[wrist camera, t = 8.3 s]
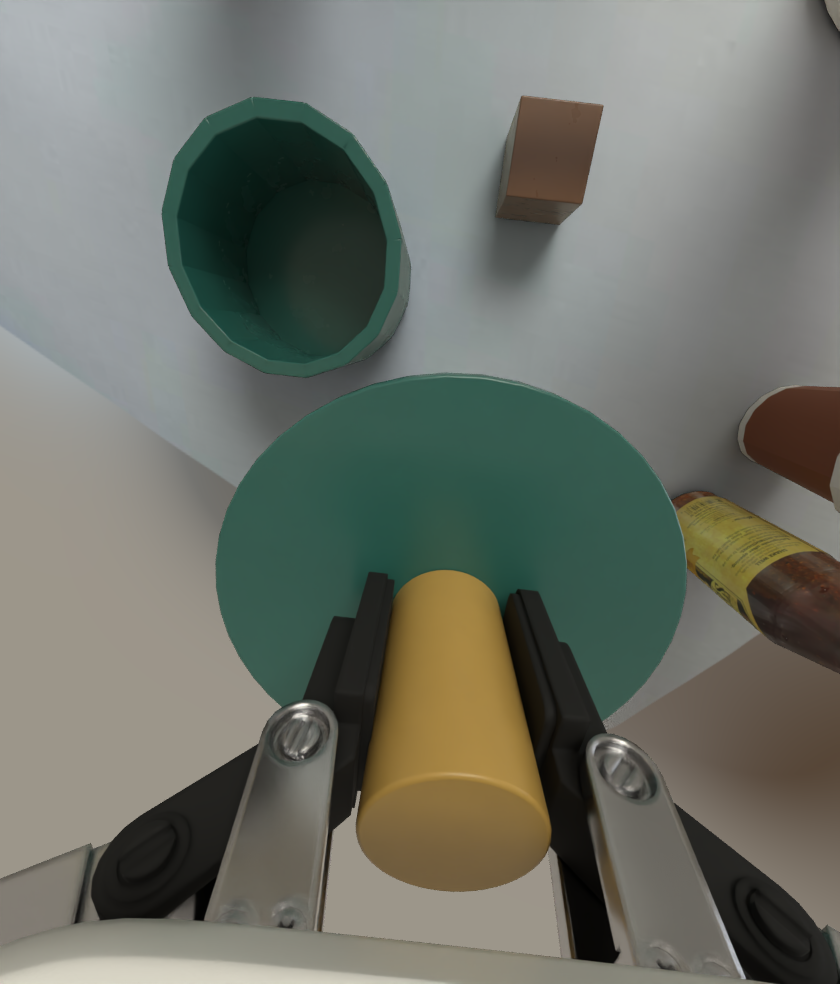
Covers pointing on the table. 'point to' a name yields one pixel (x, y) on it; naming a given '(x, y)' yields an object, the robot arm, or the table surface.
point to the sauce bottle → (764, 575)
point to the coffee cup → (797, 437)
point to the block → (547, 159)
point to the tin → (285, 239)
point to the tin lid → (452, 594)
